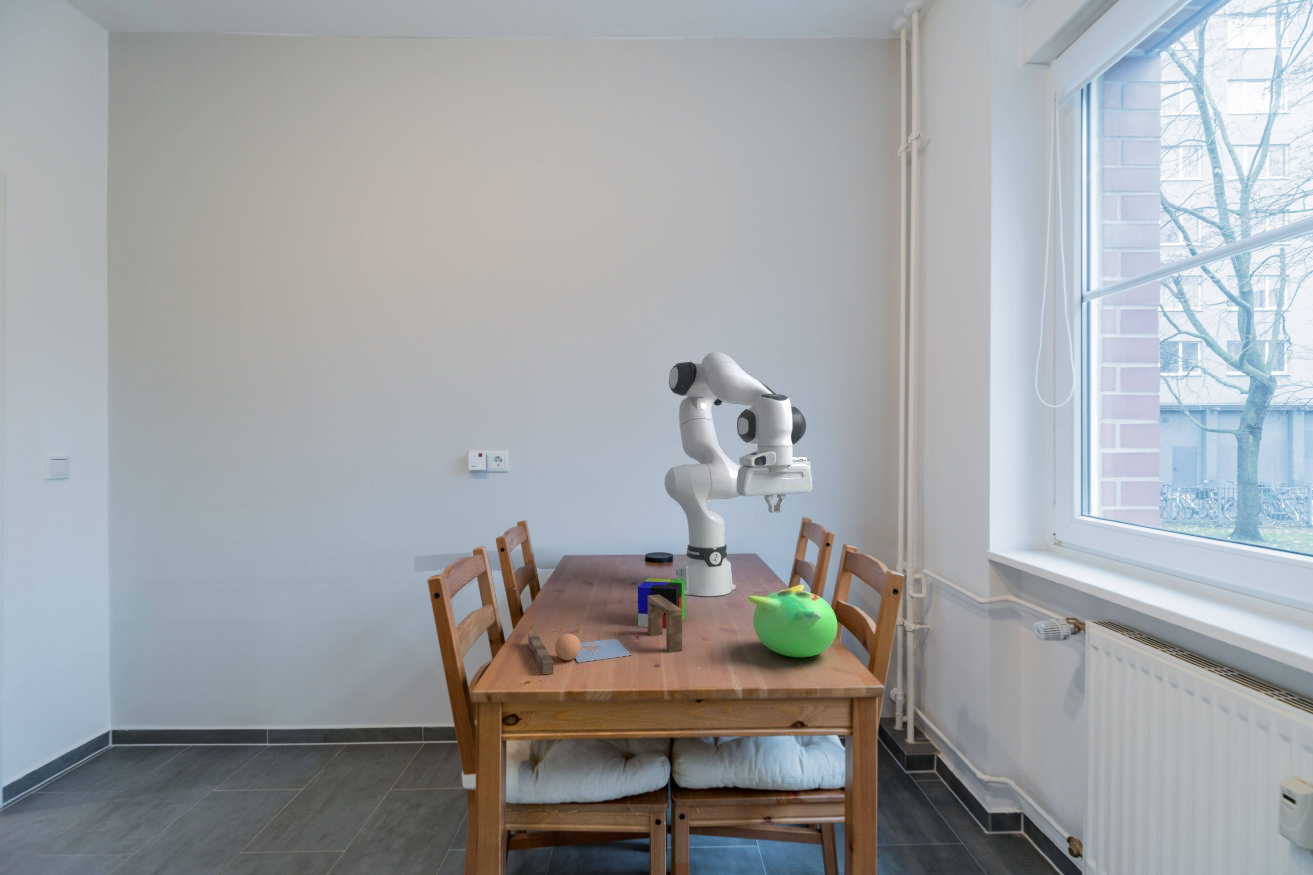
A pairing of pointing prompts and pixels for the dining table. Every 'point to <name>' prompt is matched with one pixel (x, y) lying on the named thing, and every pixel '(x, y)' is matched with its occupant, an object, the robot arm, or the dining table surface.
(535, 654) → the stopper
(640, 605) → the puzzle toy
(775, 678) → the dining table surface
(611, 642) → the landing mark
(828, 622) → the round green monster toy
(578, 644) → the ball
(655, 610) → the bridge
